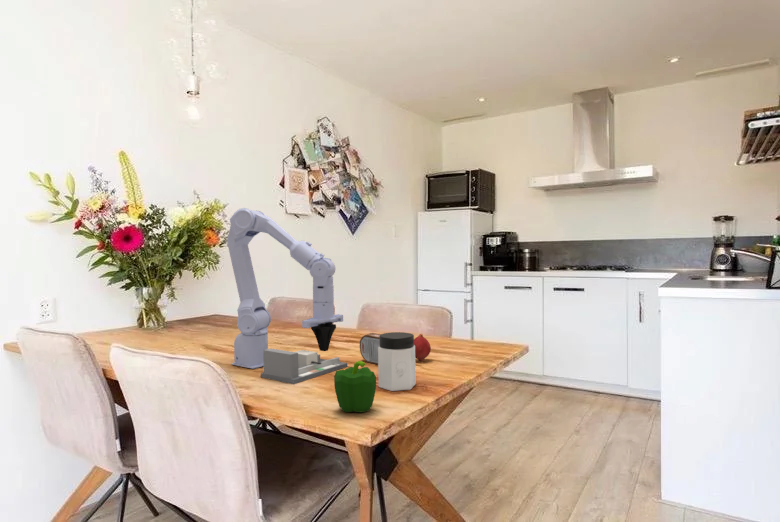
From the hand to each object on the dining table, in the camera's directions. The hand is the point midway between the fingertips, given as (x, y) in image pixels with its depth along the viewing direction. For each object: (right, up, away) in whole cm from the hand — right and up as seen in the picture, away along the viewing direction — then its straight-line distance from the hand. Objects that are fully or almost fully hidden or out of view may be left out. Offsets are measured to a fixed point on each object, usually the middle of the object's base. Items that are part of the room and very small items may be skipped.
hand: (323, 350), depth 129 cm
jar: (+20, -5, -20) cm, 29 cm away
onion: (+27, -4, +4) cm, 28 cm away
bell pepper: (+11, -5, -36) cm, 38 cm away
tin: (+16, -4, +1) cm, 16 cm away
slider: (-3, -3, -7) cm, 8 cm away
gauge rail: (-4, -5, -6) cm, 8 cm away
